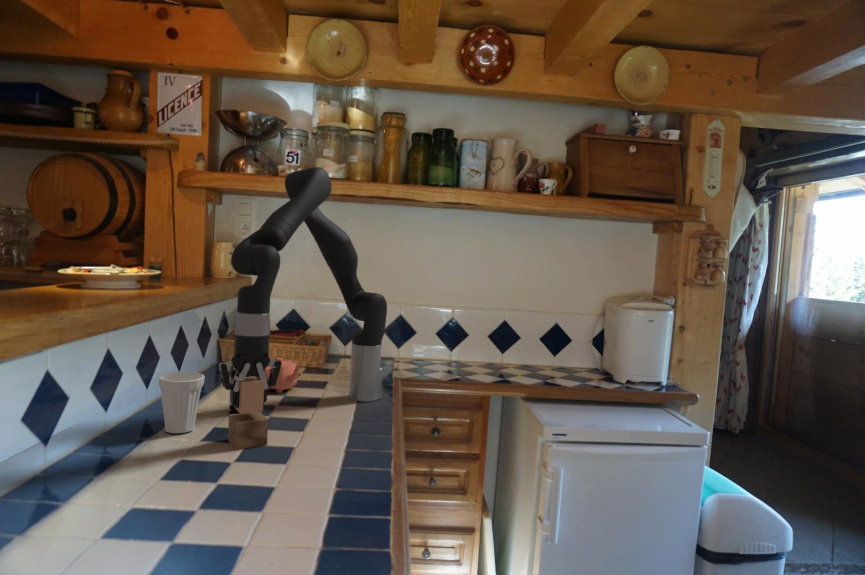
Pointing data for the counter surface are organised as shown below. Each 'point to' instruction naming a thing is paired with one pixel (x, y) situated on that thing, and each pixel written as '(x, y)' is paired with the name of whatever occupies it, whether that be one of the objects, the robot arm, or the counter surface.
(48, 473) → the counter surface
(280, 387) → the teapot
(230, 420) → the base block
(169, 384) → the cup
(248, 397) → the tan cardboard cube
